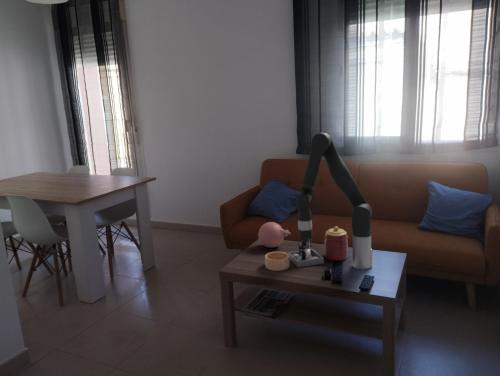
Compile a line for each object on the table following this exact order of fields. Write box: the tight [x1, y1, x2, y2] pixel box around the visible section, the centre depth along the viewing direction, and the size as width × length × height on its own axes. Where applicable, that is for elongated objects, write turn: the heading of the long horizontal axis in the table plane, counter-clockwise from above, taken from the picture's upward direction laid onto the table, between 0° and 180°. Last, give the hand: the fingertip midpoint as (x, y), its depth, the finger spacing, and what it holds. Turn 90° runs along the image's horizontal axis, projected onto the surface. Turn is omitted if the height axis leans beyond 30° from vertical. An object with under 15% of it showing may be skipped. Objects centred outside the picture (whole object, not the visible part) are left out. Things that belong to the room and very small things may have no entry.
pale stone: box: [301, 248, 311, 260], centre depth 226 cm, size 5×5×5 cm
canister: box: [323, 225, 349, 261], centre depth 228 cm, size 13×13×18 cm
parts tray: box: [287, 248, 325, 268], centre depth 226 cm, size 15×15×3 cm
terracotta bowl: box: [264, 251, 290, 272], centre depth 220 cm, size 13×13×6 cm
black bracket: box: [320, 266, 333, 282], centre depth 204 cm, size 12×7×5 cm, turn 167°
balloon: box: [257, 221, 292, 249], centre depth 247 cm, size 15×20×15 cm
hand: (305, 257), depth 226 cm, fingers closed on pale stone, 5 cm apart
